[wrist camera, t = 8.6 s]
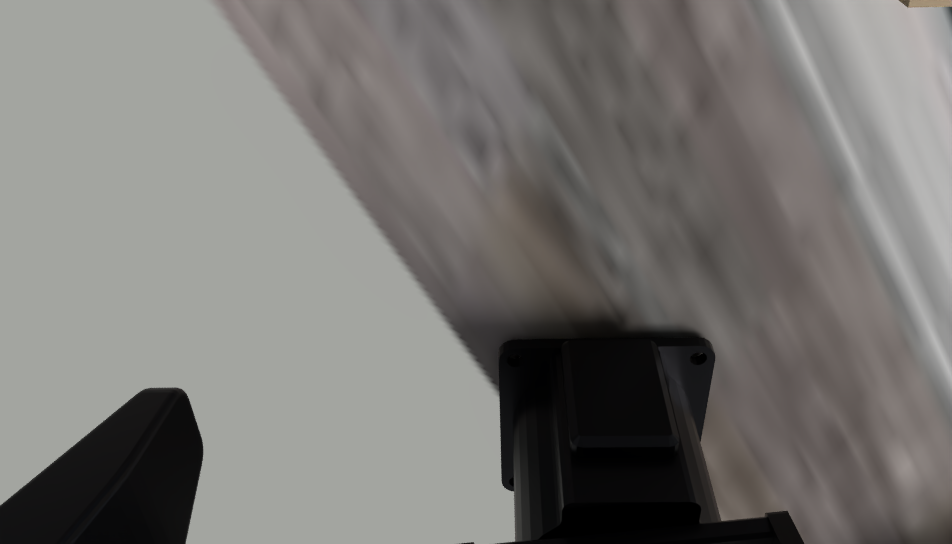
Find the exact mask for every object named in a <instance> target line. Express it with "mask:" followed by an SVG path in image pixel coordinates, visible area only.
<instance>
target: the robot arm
mask: <svg viewBox="0 0 952 544" xmlns="http://www.w3.org/2000/svg"><path fill="white" fill-rule="evenodd" d="M698 352H701V353H702V354H701V355H699V356H691V355H693V354H694V353H698ZM515 354H516V355H520V356H521V357H520V358H516V359H515V358H511V357H509V356H511V355H515ZM714 363H715V353H714V350H713V347H712V344H711V343H710V342H709V341H708V340H706V339H705V338H699V337H688V338H610V339H532V340H510V341H507V342H505V343H504V344H503V345H502V346H501V347H500V349H499V389H500V428H501V469H502V484H503V486H504V487H505V488H506V489H508V490H510V491H514V503H515V504H514V505H515V542H508V543H497V544H804V542H803V540H802V538H801V536H800V534H799V532H798V530H797V528H796V527H795V525H794V523H793V521H792V519H791V517H790V515H789V513H788V511H782V512H772V513H765V517H759V518H749V519H739V520H729V521H721V518H720V514H719V511H718V507H717V503H716V500H715V496H714V492H713V488H712V485H711V481H710V477H709V473H708V470H707V466H706V462H705V459H704V455H703V451H702V447H701V444H700V441H701V436H702V430H703V425H704V419H705V413H706V408H707V402H708V396H709V391H710V385H711V379H712V374H713V368H714ZM202 461H203V442H202V438H201V435H200V432H199V429H198V426H197V422H196V420H195V416H194V413H193V410H192V407H191V404H190V401H189V398H188V396H187V394H186V393H185V392H184V391H183V390H182V389H179V388H148V389H145V390H142V391H141V392H139V393H138V394H136V395H135V396H134V397H133V398H132V399H130V400H129V401H128V402H127V403H125V404H124V405H123V406H122V407H121V408H119V409H118V410H117V411H116V412H114V413H113V414H112V415H111V416H109V417H108V418H107V419H106V420H105V421H103V422H102V423H101V424H100V425H98V426H97V427H96V428H95V429H94V430H92V431H91V432H90V433H89V434H87V436H85V437H84V438H83V439H81V440H80V441H79V442H78V443H76V444H75V445H74V446H73V447H71V448H70V449H69V450H68V451H67V452H66V453H64V454H63V455H62V456H61V457H59V458H58V459H57V460H56V461H54V462H53V463H52V464H51V465H50V466H48V467H47V468H46V469H45V470H43V471H42V472H41V473H40V474H38V475H37V476H36V477H35V478H33V479H32V480H31V481H30V482H29V483H27V484H26V485H25V486H24V487H22V488H21V489H20V490H19V491H18V492H16V493H15V494H14V495H13V496H11V497H10V498H9V499H8V500H7V501H6V502H4V503H3V504H2V505H0V544H186V539H187V534H188V529H189V524H190V519H191V514H192V510H193V504H194V500H195V495H196V490H197V486H198V480H199V476H200V471H201V466H202ZM462 544H474V542H471V543H462Z"/></svg>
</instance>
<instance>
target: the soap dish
mask: <svg viewBox="0 0 952 544" xmlns="http://www.w3.org/2000/svg"><path fill="white" fill-rule="evenodd" d="M899 1H900V2H902V3H903V4H904V5H905V6H907V7H908V8H911V7H947V6H952V0H899Z"/></svg>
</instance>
